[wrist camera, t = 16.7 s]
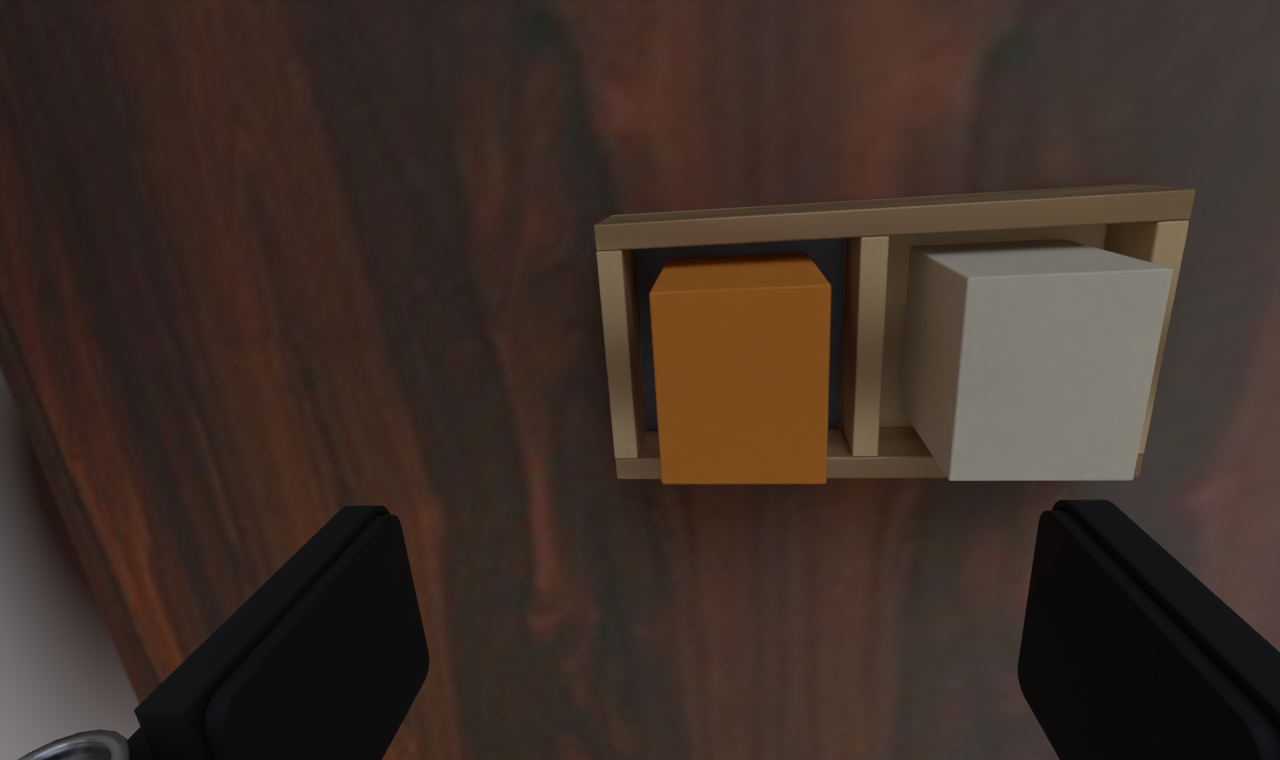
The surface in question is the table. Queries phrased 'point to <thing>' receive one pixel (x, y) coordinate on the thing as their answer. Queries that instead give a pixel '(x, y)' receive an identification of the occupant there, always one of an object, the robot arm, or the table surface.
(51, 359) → the table surface
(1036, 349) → the cream block
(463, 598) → the table surface
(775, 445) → the orange block
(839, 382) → the wooden frame
